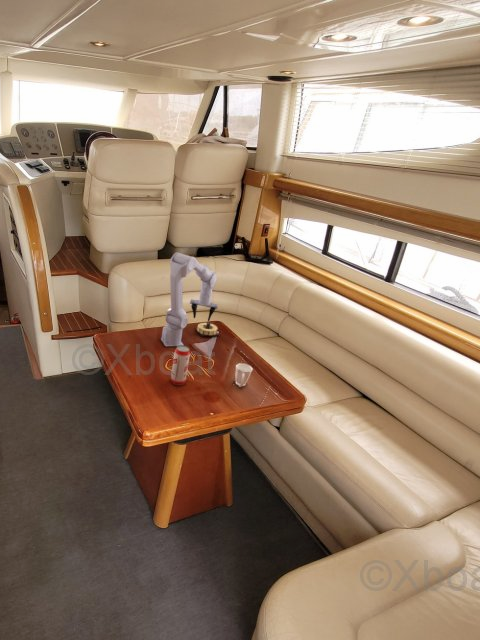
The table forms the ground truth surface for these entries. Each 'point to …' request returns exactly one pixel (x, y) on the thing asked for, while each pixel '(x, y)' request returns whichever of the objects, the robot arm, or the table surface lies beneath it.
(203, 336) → the stand
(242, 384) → the cup
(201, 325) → the yellow gear ring
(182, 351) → the beer can
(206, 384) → the table surface
